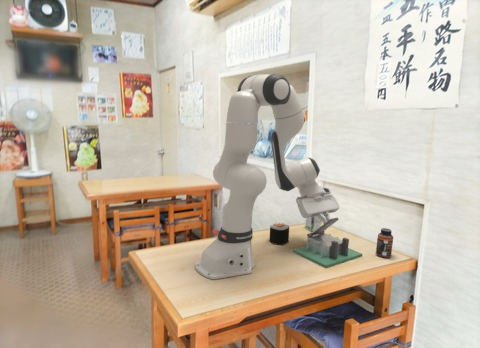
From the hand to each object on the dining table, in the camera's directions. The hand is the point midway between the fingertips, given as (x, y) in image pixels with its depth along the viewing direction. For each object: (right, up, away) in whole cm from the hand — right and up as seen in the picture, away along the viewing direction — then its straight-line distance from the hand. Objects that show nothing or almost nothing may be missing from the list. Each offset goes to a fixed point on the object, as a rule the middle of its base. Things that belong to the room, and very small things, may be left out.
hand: (327, 223), depth 141 cm
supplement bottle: (+23, -14, +2) cm, 27 cm away
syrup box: (+1, -8, +31) cm, 32 cm away
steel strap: (-1, -2, +1) cm, 2 cm away
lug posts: (+3, -14, -4) cm, 15 cm away
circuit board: (0, -13, +1) cm, 13 cm away
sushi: (-19, -10, +14) cm, 25 cm away
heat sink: (-1, -12, +2) cm, 12 cm away
